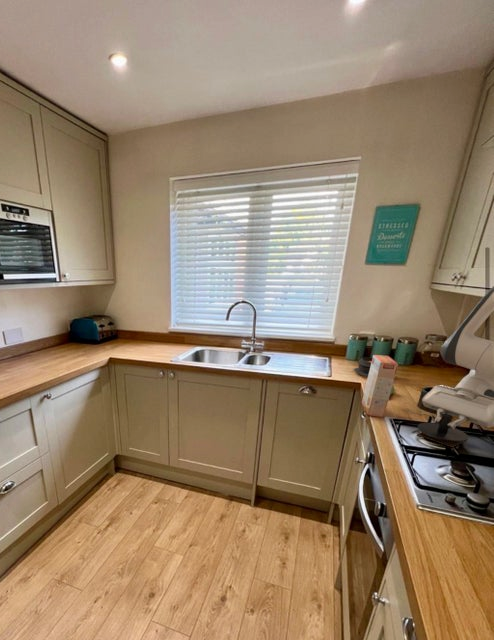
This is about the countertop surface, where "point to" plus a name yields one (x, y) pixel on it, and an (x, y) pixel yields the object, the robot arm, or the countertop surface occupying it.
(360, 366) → the dark grey rounded piece
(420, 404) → the pot
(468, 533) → the countertop surface
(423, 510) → the countertop surface
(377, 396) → the cracker box
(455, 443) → the plate
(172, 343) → the countertop surface
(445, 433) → the lid
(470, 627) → the countertop surface
